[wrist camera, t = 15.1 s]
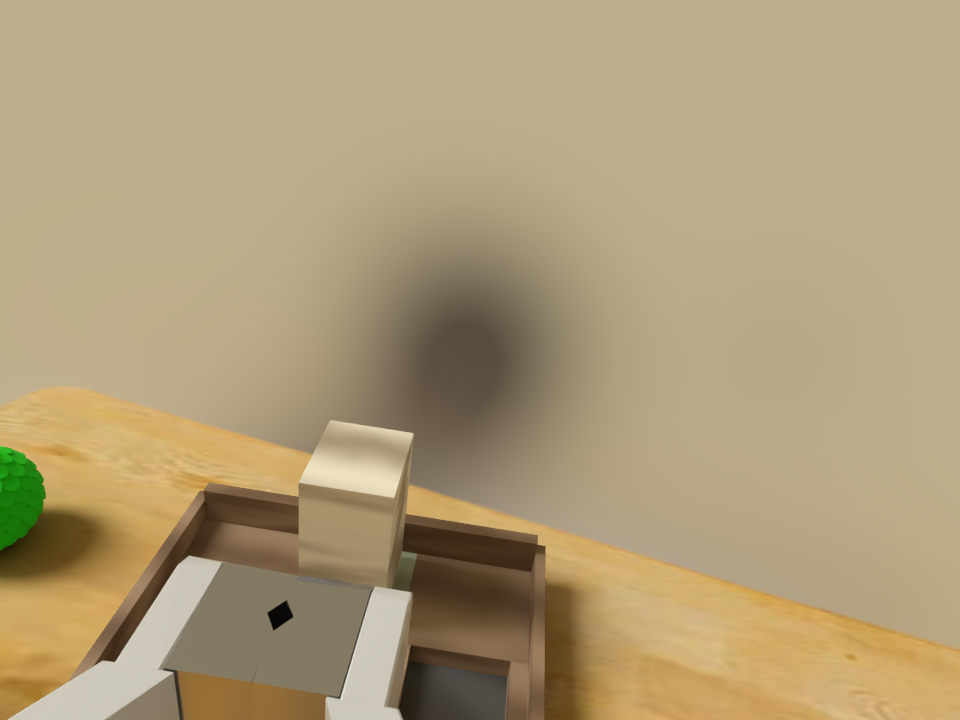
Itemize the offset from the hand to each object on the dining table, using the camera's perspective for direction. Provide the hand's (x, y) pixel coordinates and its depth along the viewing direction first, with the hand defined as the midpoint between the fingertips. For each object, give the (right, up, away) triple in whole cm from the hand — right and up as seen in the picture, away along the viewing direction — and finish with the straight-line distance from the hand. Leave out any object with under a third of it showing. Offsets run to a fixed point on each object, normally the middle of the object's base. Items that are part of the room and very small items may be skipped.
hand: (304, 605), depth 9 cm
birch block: (-7, -14, +42) cm, 45 cm away
